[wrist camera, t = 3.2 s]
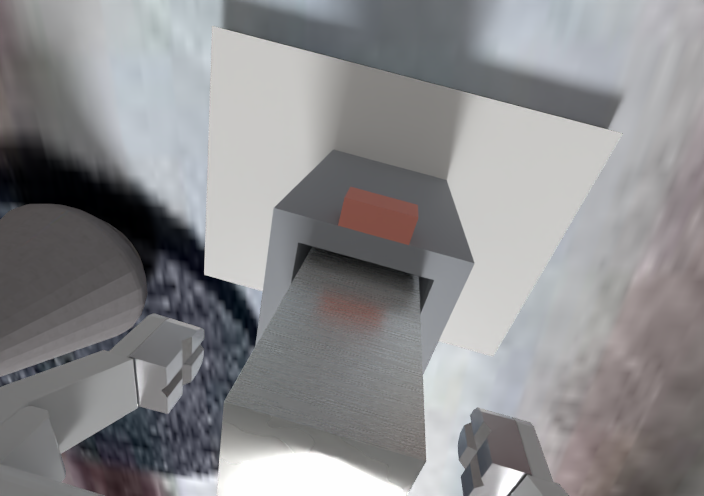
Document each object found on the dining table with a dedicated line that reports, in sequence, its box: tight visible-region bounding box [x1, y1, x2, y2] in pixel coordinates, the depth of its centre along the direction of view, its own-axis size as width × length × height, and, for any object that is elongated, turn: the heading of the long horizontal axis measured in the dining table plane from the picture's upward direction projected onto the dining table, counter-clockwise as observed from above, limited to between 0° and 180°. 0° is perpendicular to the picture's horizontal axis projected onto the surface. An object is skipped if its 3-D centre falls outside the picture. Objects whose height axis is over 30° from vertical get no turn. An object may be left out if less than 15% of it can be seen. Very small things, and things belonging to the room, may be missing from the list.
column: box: [217, 246, 426, 496], centre depth 15 cm, size 4×4×16 cm
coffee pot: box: [0, 204, 147, 377], centre depth 20 cm, size 21×12×15 cm, turn 146°
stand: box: [204, 26, 623, 374], centre depth 18 cm, size 22×16×12 cm
